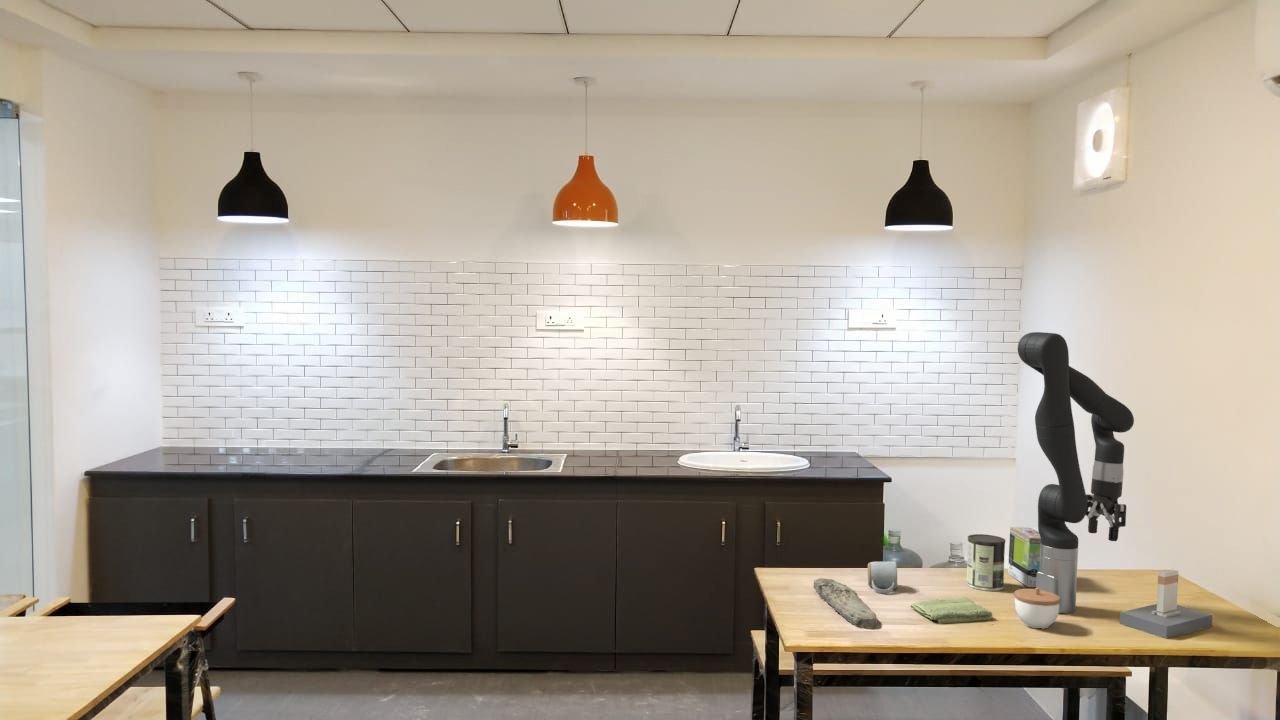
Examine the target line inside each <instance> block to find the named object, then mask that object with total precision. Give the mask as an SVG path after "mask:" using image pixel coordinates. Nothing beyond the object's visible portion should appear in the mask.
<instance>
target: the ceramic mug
mask: <svg viewBox="0 0 1280 720" xmlns="http://www.w3.org/2000/svg"><path fill="white" fill-rule="evenodd" d="M867 584H868V586H869V587H870V588H872V589H873V591H874V592H876V593H878V594H883V595H888V594H890V593H892V591H893V590H897V588H898V567H897V562H896V561H895V560H894V561H893V560H891V561H871V562H868V564H867Z"/></svg>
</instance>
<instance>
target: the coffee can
mask: <svg viewBox="0 0 1280 720" xmlns="http://www.w3.org/2000/svg"><path fill="white" fill-rule="evenodd" d="M1005 548H1006V539H1005V538H1003V537H1001V536H998V535H997V536H996V535H994V534H993V535H991V534H982V533H980V534H979V533H976V534H974V533H973V534H971V535H970V534H969V535H968V536H967V561H966V562H967V563H966V564H967V565H966V583H965V584H966V585H967V586H968V587H969V588H972V589H975V590H980V591H988V592H996V591H1002V590H1003V589H1004V587H1005V586H1004V582H1005V581H1004V579H1005V578H1004V577H1005V576H1004V575H1005V550H1006V549H1005Z"/></svg>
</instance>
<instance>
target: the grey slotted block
mask: <svg viewBox="0 0 1280 720" xmlns="http://www.w3.org/2000/svg"><path fill="white" fill-rule="evenodd" d="M1156 614H1157V603H1155V604H1151V605H1147V606H1142V607H1138V608H1137V607H1136V608H1133V609H1129V610H1124V611H1120V613H1119V615H1120V617H1119V624H1120V625H1122V624H1124V625H1123V626H1125V625H1127V626H1126V627H1129V626H1130V628H1131V629H1135V628H1136V629H1135V630H1139V631H1142V632H1145V633H1148V634H1151V635H1154V636H1158V637H1161V638H1163V639H1169V638H1173V637H1176V636H1177V637H1178V636H1181V635H1185V634H1189V633H1193V632H1195V631H1199V630H1203V629H1208V628H1211V627H1213V614H1211V613H1208V612H1204V611H1200V610H1196V609H1194V608H1190V607H1186V606H1183V605H1179V604H1177V611H1176V612H1173V613H1169V614H1165V615H1163V617H1162V616H1159V615H1156Z"/></svg>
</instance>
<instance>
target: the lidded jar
mask: <svg viewBox="0 0 1280 720" xmlns="http://www.w3.org/2000/svg"><path fill="white" fill-rule="evenodd" d="M1013 595H1014V608H1015V610H1014V611H1015V613H1016V615H1017V617H1018V619H1020V621H1021V622H1022V624H1023V623H1024V624H1025V625H1024V624H1023V625H1024V626H1026V625H1027V626H1026V627H1028V626H1030V627H1029V628H1031V627H1033V628H1032V629H1037V628H1042V629H1041V630H1043V629H1044V630H1045V628H1046V629H1048V627H1049V628H1050V626H1052V625H1053V624H1054V623H1055V622H1056V621H1057V618H1058V616H1059V614H1060V613H1059V604H1060V597H1059V596H1058V595H1056V594H1054V593H1051V592H1048V591H1044V590H1040V589H1039V588H1035V587H1034V588H1021V589H1017V590H1015V591H1014V593H1013Z"/></svg>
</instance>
